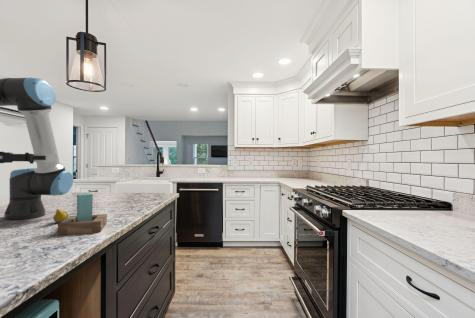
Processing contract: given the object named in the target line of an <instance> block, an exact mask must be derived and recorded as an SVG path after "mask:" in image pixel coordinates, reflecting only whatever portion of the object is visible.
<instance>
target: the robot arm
mask: <svg viewBox="0 0 475 318" xmlns="http://www.w3.org/2000/svg"><path fill="white" fill-rule="evenodd" d="M56 98H57V96H56V92H55V90H54V87H52V85H51V84H50V83H48V81H46V80H44V79H42V78H38V77H3V78H0V107H4V106H7V107H9V106H11V107H12V106H13V107H17V111H18V112H19V113H20V114H22V115H23V116H24V121H25V124H26V127H27V131H28V132H27V133H28V136H29V139H30V143H31V148H32V151H33V153H30V152H25V153H13V152H5V151H0V164H7V163H10V164H11V163H13V162H28V163H29V164H34V163H35V164H36V167H31V168H22V169H21V168H19V169H14V170H12V171H11V172H10V174H9V179H8V180H9V201H8V205H7V206H6V209H5V211H4V213H3V219H4V220H6V221H7V220H8V221H12V220H13V221H17V220H28V219H35V218H40V217H43V216H45V215H46V208H45V206H44V204H43V201H42V196H53V197H56V196H63V195H65V194H67V193H69V191H70V190H71V189H72V187H73V183H74V176H73V174H72V173H71V172H70V171H68V170H66V167H65V165H64V164H62V163H61V162H60V157H59V153H58V149H57V144H56V140H55V136H54V132H53V128H52V123H51V120H50V119H51V118H50V114H49V113H50V112H51V111H52V106H53V105H54V104H55V101H56Z"/></svg>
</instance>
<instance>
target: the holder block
mask: <svg viewBox="0 0 475 318" xmlns="http://www.w3.org/2000/svg"><path fill="white" fill-rule="evenodd" d="M107 215H108V214H107V213H105V214H104V213H103V214H92V221H77V215H70V216H69V215H68V218H66V219H65V220H64V221H62V222H61V223H57V236H65V235H66V236H67V235H80V234H91V233H101V232H102V230H103V229H104V228H105V226H106V225H107V224H108V223H107V221H108V220H107V218H108V216H107Z"/></svg>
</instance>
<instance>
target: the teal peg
mask: <svg viewBox="0 0 475 318" xmlns="http://www.w3.org/2000/svg"><path fill="white" fill-rule="evenodd" d="M93 197H94V195H93V194H92V193H89V192H88V193H78V194H77V193H76V216H77V221H92V215H93V204H94V203H93V200H94V199H93Z"/></svg>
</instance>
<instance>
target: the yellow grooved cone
mask: <svg viewBox="0 0 475 318" xmlns="http://www.w3.org/2000/svg"><path fill="white" fill-rule="evenodd" d="M68 217H69V214H68V212H67V211H65V210H61V209H59V208H57V209H56V212H55V213H54V215H53V222H55V223H57V224H59V223H61V222H62V221H64V220H65V219H66V218H68Z"/></svg>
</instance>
